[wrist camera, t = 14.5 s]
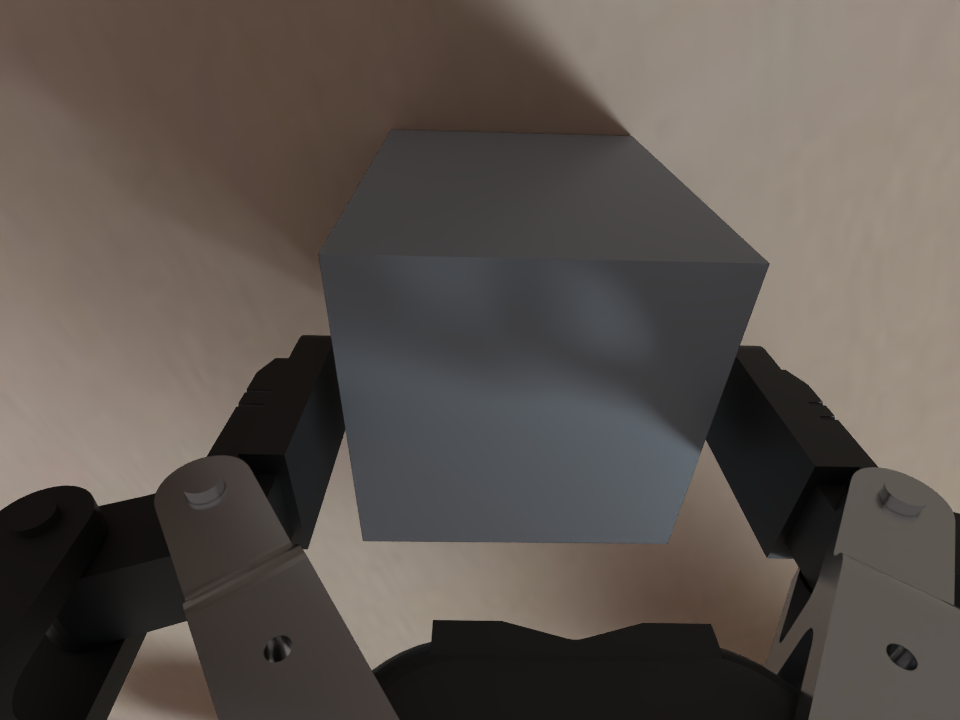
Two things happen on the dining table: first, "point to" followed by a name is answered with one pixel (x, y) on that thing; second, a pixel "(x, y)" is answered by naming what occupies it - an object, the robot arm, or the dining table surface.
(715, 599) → the dining table surface
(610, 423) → the grey upright rectangular block
